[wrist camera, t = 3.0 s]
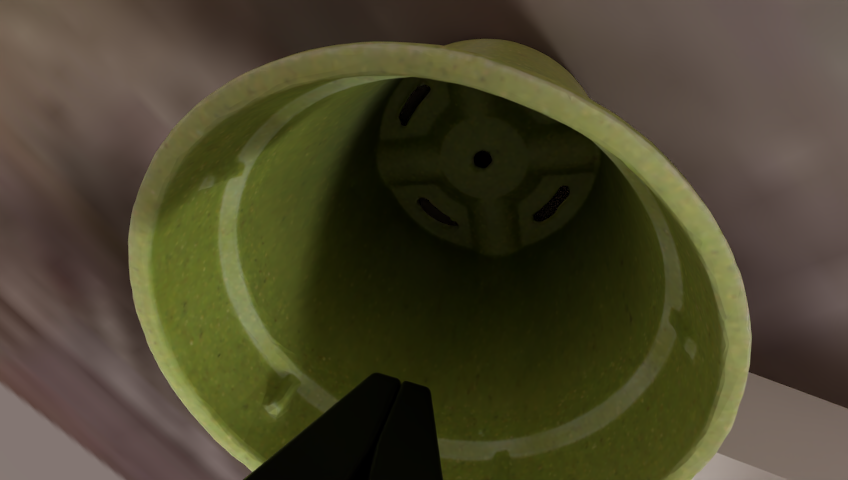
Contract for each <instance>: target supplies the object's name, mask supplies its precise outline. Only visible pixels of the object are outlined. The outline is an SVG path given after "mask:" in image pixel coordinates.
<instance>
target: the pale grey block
mask: <svg viewBox="0 0 848 480" xmlns="http://www.w3.org/2000/svg"><path fill="white" fill-rule="evenodd" d="M691 480H848V409H847V408H845V407H842V406H839V405H837V404H834V403H831V402H828V401H826V400H823V399H820V398H818V397H815V396H812V395H810V394H807V393H804V392H801V391H799V390H796V389H793V388H791V387H788V386H785V385H782V384H780V383H777V382H774V381H772V380H769V379H766V378H764V377H761V376H758V375H755V374H753V373H750V372H748V376H747V381H746V386H745V391H744V394H743V397H742V399H741V402H740V404H739V408H738V411H737V415H736V418H735V421H734V424H733V426H732V429H731V431H730V432H729V434H728V435H727V437H726V438H725V440H724V441H723V443H722V445H721V446H720V448H719V449H718V451H717V453H716V454H715V455H714V456H713V458H712V459H711V460H710V461H709V462H708V463H707V465H706V466H704V468H703V469H702V470H701V471H700V472H698V473H697V474H696V475H695V476H694V477H693V478H692V479H691Z"/></svg>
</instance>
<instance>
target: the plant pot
mask: <svg viewBox="0 0 848 480" xmlns="http://www.w3.org/2000/svg"><path fill="white" fill-rule="evenodd" d="M423 85H427V86H429V87H430V88H431V90H430V92H429V93H428V94H427V96H426V97H425V98H424V99H423V100H422V102H421V103H420V104H419V105H418V106H417V108H416V109H415V111H414V113H413V114H412V115H411V117H410V120H409V121H408V123H407V125H406V126H402V125H401V121H400V119H399V114H400V112H401V110H402V108H403V106H404V104H405V103H406V102H407V99H408V98H409V96H410V94H411V93H412V92H413V91H414V90H415V89H416V87H417V86H423ZM482 150H484V151H486V152H488V153H490V155H491V157H492V162H491V163H490V164H489V166H488V167H486V168H479V167H478V166H476V165H475V164H474V161H473V159H474V155H475V154H476V153H478V152H480V151H482ZM564 185H566V186H568V189H569V191H570V192H569V196H568V197H567V198H566V199H565V200H564V201H563V202H562V203H561V204H560V205H559V207H558V208H557V211H556V212H555V214H554V215H552V216H551V217H549V218H548V219H546V220H544V221H542V222H540V221H535V220H534V214H535V213H536V212H537V211H539V210H540V209H541V208H542V207H543V206H544V205H546V204H547V203H548V202H549V201H550V199H551V198H552V197H553V196H554V195H555V194H556V193H557V192H558V190H559V188H560V187H561V186H564ZM421 197H424V198H426V199H428V200H429V201H430V203H432V204H433V205H434V206H435V207H437V209H439V210H440V211H441V212H443V213H444V214H445V215H447V216H449V217H450V219H451V221H456V222H457V224H458V226H456V225H454V226H451V225H447V224H444V223H441V222H439V221H437V220H435V219H434V218H432V217H430V216H429V215H428V214H427V213H426V212H425V211H424V210H423V209H422V208H421V206H420V204H419V202H418V200H419V199H420V198H421ZM128 256H129V273H130V282H131V287H132V292H133V300H134V304H135V309H136V313H137V315H138V318H139V321H140V323H141V326H142V329H143V331H144V334H145V337H146V341H147V343H148V346H149V348H150V350H151V352H152V354H153V355H154V358H155V360H156V362H157V364H158V366H159V368H160V370H161V372H162V373H163V375H164V376H165V378H166V379H167V381H168V382H169V384H170V386H171V387H172V389H173V390H174V391H175V393H176V394H177V396H178V397H179V398H180V400H181V401H182V402H183V404H184V405H185V406H186V408H187V409H188V410H189V412H190V413H191V414H192V415H193V416H194V417H195V418H196V419H197V421H198V422H199V423H200V424H201V425H202V426H203V427H204V428H205V430H206V431H207V432H208V433H209V434H210V435H211V436H212V437H213V438H214V439H215V440H216V441H217V442H218V443H219V444H220V445H221V446H222V447H223V448H225V449H226V450H227V451H228V452H229V453H230V454H231V455H232V456H233V457H235V458H236V459H237V460H239V461H240V462H242V463H243V464H244V465H245V466H247V467H248V468H249V469H250V470H251V471H252V472H253V471H254V470H256V469H257V468H258V467H259V466H260V465H262V464H263V463H264V462H265V461H266V460H268V459H269V458H270V457H271V456H272V455H274V454H275V453H276V452H277V451H279V450H280V449H281V448H282V447H283V446H285V445H286V444H287V443H288V442H289V441H291V440H292V439H293V438H294V437H295V436H297V435H298V434H299V433H300V432H302V431H303V430H304V429H305V428H306V427H308V426H309V425H310V424H311V423H312V422H314V421H315V420H316V419H317V418H319V417H320V416H321V415H322V414H323V413H325V412H326V411H327V410H328V409H329V408H331V407H332V406H333V405H334V404H335V403H337V402H338V401H339V400H340V399H342V398H343V397H344V396H345V395H346V394H348V393H349V392H350V391H351V390H352V389H354V388H355V387H356V386H357V385H359V384H360V383H361V382H362V381H363V380H365V379H366V378H367V377H368V376H370V375H371V374H372V373H376V372H377V373H381V374H385V375H388V376H392V377H395V378H398V379H399V380H400V382H401V383H403V382H404V381H409V382H412V383H416V384H419V385H423V386H426V387H428V388H429V389H430V391H431V396H432V403H433V410H434V417H435V424H436V432H437V439H438V446H439V453H440V460H441V468H442V475H443V480H691V479H692V478H693V477H694V476H695V475H696V474H697V473H698V472H700V471H701V470H702V469H703V468H704V466H706V465H707V463H708V462H709V461H710V460H711V459H712V458H713V456H714V455H715V454H716V453H717V451H718V449H719V448H720V446H721V445H722V443H723V441H724V440H725V438H726V437H727V435H728V434H729V432H730V431H731V429H732V426H733V424H734V421H735V418H736V415H737V411H738V408H739V404H740V402H741V399H742V397H743V394H744V391H745V386H746V381H747V376H748V371H749V367H750V354H751V341H752V333H751V322H750V314H749V308H748V302H747V298H746V293H745V288H744V284H743V281H742V277H741V273H740V271H739V269H738V267H737V265H736V262H735V259H734V255H733V253H732V251H731V249H730V246H729V244H728V242H727V240H726V239H725V237H724V235H723V233H722V232H721V230H720V228H719V226H718V224H717V223H716V221H715V219H714V217H713V216H712V214H711V212H710V211H709V209H708V208H707V207H706V205H705V204H704V202H703V201H702V200H701V198H700V197H699V196H698V194H697V193H696V192H695V190H694V189H693V188H692V186H691V185H690V184H689V182H688V181H687V180H686V178H685V177H684V176H683V175H682V174H681V173H680V172H679V170H678V169H677V168H676V167H675V166H674V165H673V164H672V163H671V162H670V161H669V160H668V158H667V157H666V156H665V155H664V154H663V153H662V152H661V151H660V150H659V149H658V148H657V147H656V146H655V145H654V144H653V143H652V142H651V141H649V140H648V139H647V138H645V137H644V136H643V135H642V134H640V133H639V132H638V131H637V130H635V129H634V128H633V127H631V126H630V125H629V124H628V123H626V122H625V121H624V120H622V119H621V118H620V117H619V116H617V115H616V114H614V113H612V112H611V111H609V110H607V109H606V108H604V107H602V106H601V105H599V104H597V103H596V102H594V101H593V100H591V99H589V97H588V96H587V94H586V93H585V91H584V90H583V88H582V87H581V85H580V84H579V83H578V82H577V81H576V79H575V78H574V77H573V76H572V75H571V74H570V73H569V72H568V71H567V70H566V69H565V68H564V67H562V66H561V65H560V64H559V63H557V62H556V61H554V60H553V59H551V58H550V57H548V56H547V55H545V54H543V53H541V52H539V51H537V50H535V49H533V48H530V47H528V46H525V45H522V44H519V43H516V42H512V41H507V40H500V39H472V40H465V41H459V42H455V43H451V44H448V45H445V46H441V45H433V44H421V43H408V42H379V41H371V42H358V43H348V44H339V45H332V46H327V47H321V48H316V49H311V50H307V51H303V52H300V53H296V54H293V55H290V56H287V57H284V58H281V59H278V60H275V61H272V62H270V63H267V64H265V65H262V66H260V67H258V68H255V69H253V70H251V71H248V72H246V73H244V74H242V75H240V76H239V77H237V78H235V79H233V80H231V81H229V82H228V83H227V84H225V85H224V86H222V87H221V88H219V89H218V90H216V91H214V92H213V93H211V94H210V95H209V96H207V97H206V98H205V99H203V100H202V101H201V102H199V103H198V104H197V105H196V106H195V107H194V108H193V109H192V110H191V111H190V112H189V113H188V114H187V115H186V116H185V117H184V118H183V119H182V120H180V121H179V123H178V124H177V125H176V126H175V127H174V128H173V129H172V130H171V132H170V133H169V135H168V136H167V138H166V139H165V140H164V142H163V143H162V144H161V146H160V147H159V149H158V150H157V152H156V153H155V155H154V157H153V159H152V161H151V163H150V165H149V168H148V170H147V172H146V174H145V176H144V179H143V181H142V183H141V185H140V188H139V191H138V194H137V198H136V201H135V203H134V206H133V210H132V214H131V221H130V229H129V237H128Z"/></svg>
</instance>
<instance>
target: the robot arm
mask: <svg viewBox="0 0 848 480" xmlns="http://www.w3.org/2000/svg"><path fill="white" fill-rule="evenodd" d="M243 480H443V475H442V468H441V460H440V453H439V446H438V439H437V432H436V424H435V417H434V410H433V403H432V396H431V391H430V389H429V388H428V387H426V386H423V385H419V384H416V383H412V382H409V381H404V382H403V383H401V382H400V380H399V379H398V378H395V377H392V376H388V375H385V374H381V373H377V372H376V373H372V374H371V375H370V376H368V377H367V378H366V379H365V380H363V381H362V382H361V383H360V384H359V385H357V386H356V387H355V388H354V389H352V390H351V391H350V392H349V393H348V394H346V395H345V396H344V397H343V398H342V399H340V400H339V401H338V402H337V403H335V404H334V405H333V406H332V407H331V408H329V409H328V410H327V411H326V412H325V413H323V414H322V415H321V416H320V417H319V418H317V419H316V420H315V421H314V422H312V423H311V424H310V425H309V426H308V427H306V428H305V429H304V430H303V431H302V432H300V433H299V434H298V435H297V436H295V437H294V438H293V439H292V440H291V441H289V442H288V443H287V444H286V445H285V446H283V447H282V448H281V449H280V450H279V451H277V452H276V453H275V454H274V455H272V456H271V457H270V458H269V459H268V460H266V461H265V462H264V463H263V464H262V465H260V466H259V467H258V468H257V469H256V470H254V471H253V472H252V473H251V474H249V475H248V476H247V477H246V478H245V479H243Z"/></svg>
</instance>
